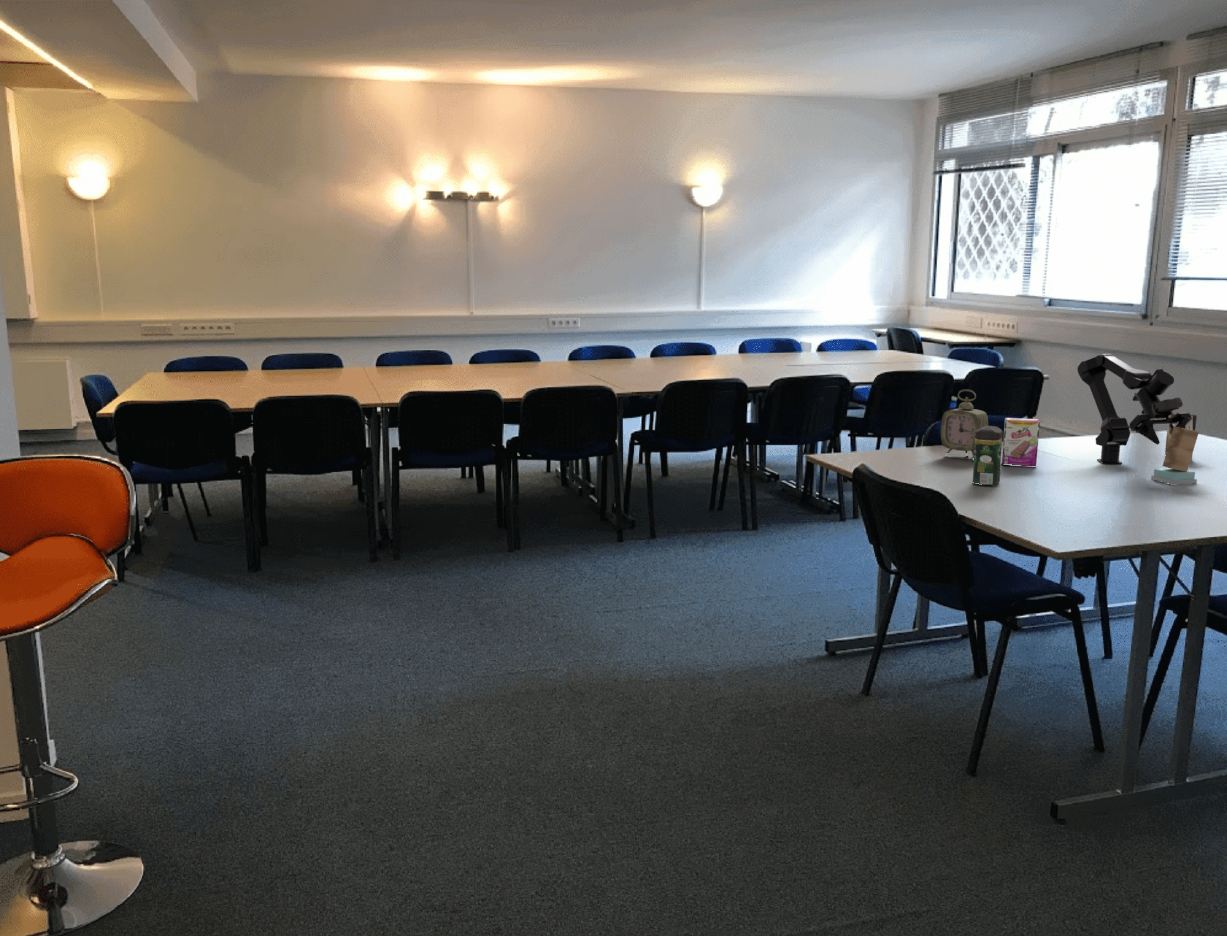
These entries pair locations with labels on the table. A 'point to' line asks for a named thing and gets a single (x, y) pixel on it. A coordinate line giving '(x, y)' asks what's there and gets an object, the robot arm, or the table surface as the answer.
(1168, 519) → the table surface
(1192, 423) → the coffee box
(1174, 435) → the walnut pillar
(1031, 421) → the candy bar box
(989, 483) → the coffee jar
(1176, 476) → the tower top block
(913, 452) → the table surface
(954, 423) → the tabletop clock
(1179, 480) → the tower base block
